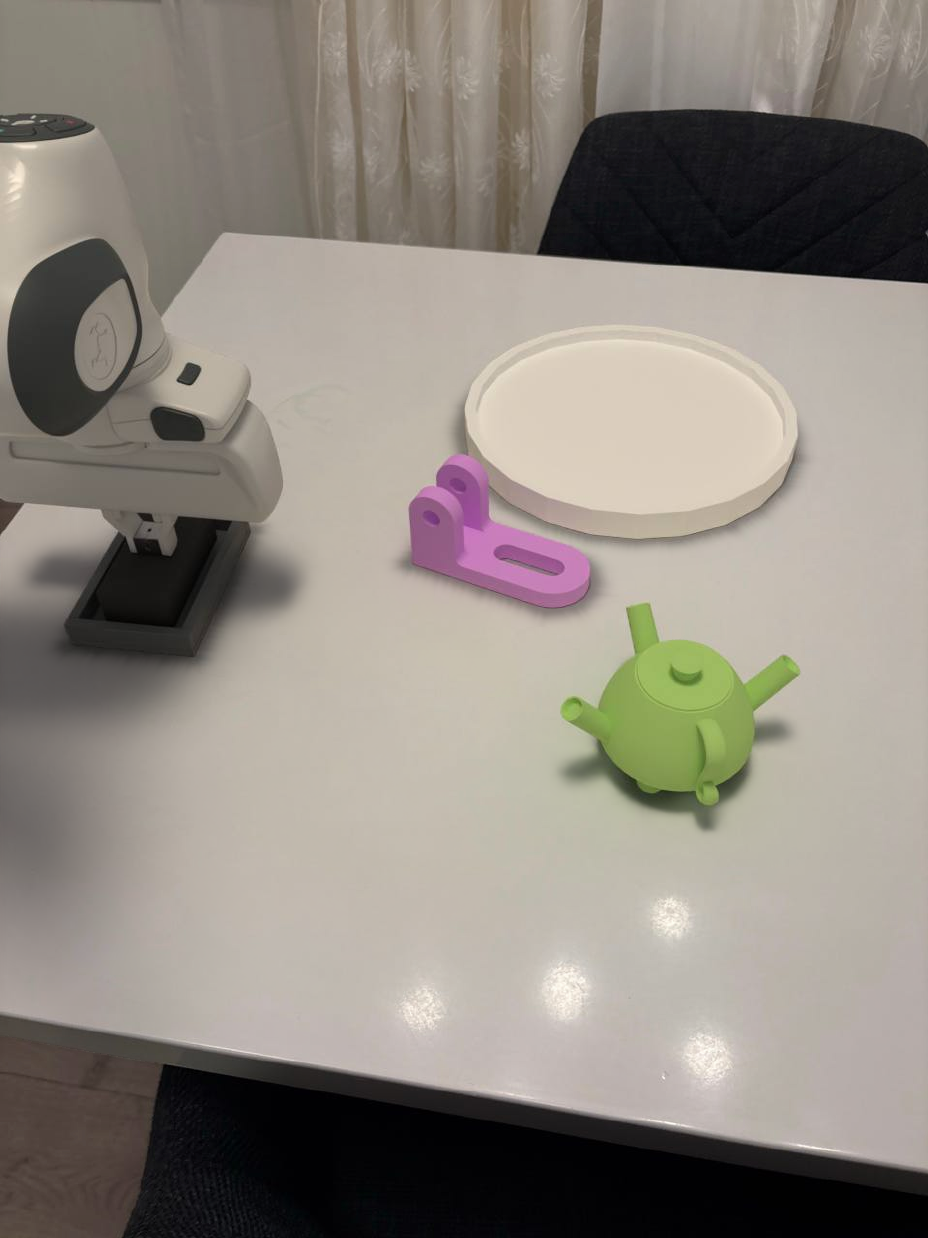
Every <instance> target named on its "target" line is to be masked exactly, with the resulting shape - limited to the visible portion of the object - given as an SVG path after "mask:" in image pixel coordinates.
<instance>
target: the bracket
mask: <svg viewBox="0 0 928 1238" xmlns="http://www.w3.org/2000/svg"><path fill="white" fill-rule="evenodd" d="M408 521H409V534H410V535H409V536H410V545H411V560H412V564H413V565H416V566H419V567H422V568H424V569H428V570H431V571H433V572H437V573H439V574H442V575H445V576H448V577H452V578H455V579H457V580H460V581H464V582H466V583H469V584H472V585H475V586H478V587H481V588H484V589H487V590H489V591H493V592H496V593H498V594H502V595H504V596H508V597H511V598H514V599H517V600H520V601H522V602H525V603H529V604H532V605H535V606H538V607H543V608H548V609H549V608H554V609H556V608H562V607H563V608H564V607H567V606H570V605H573V604H575V603H576V602H578V601H580V600H581V599H582V598H583V597H584V596H585V595H586V594H587V592H588V591H589V590H588V589H589V586H590V576H591V574H590V573H591V564H590V561H589V559H588V558H587V556H586V555H585V554H584V553H583V552H581V551H580V550H579V549H578V548H575V547H574V546H572V545H570V544H566V543H564V542H563V543H562V542H559V541H556V540H553V539H550V538H546V537H544V536H540V535H537V534H533V533H530V532H527V531H525V530H522V529H518V528H515V527H511V526H509V525H505V524H501V523H499V522H495V521H493V520H492V519H491V517H490V486H489V479H488V475H487V473H486V471H485V469H484V468H483V466H482V465H481V464H480V463H479V462H478V461H476V460H475V459H473V458H472V457H470V456H468V454H467V455H466V454H462V453H457V454H453V455H451V456H449V457H448V458H447V459H446V460H445V462H444V463H443V464H442V465H441V466H440V467H439V468H438V470H437V471H436V475H435V485H428V486H425V487H423V488H422V489H421V490H420V491H419V492H418V494H417V495H416V496H415V497H414V498H413V499H412V500H411V502H410V503H409V505H408ZM502 559H510V560H513V561H516V562H519V563H523V564H525V565H527V566H528V565H529V566H531V567H535V568H537V569H540V570H544V571H547V572H550V573H553V574H556V575H548V574H544V573H541V572H539V571H535V570H532V569H530V568H526V567H523V566H520V565H517V564H513V563H510V562H508V561H506V560H505V561H504V560H502Z"/></svg>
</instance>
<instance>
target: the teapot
mask: <svg viewBox="0 0 928 1238" xmlns="http://www.w3.org/2000/svg"><path fill="white" fill-rule="evenodd" d="M625 610H626V615H627V620H628V626H629V631H630V635H631V640H632V645H633V651H634V654H635V655H633V656H632V657H630V658H629V659H628V660H626V661H625V662H624V663H623V664H622V665H621V666H620V667H618V668H617V669H616V671H615V672H614V674H613V675H612V676H611V678H609V681H608V682H607V683H606V686H605V687H604V689H603V690H602V691H603V692H602V693H601V696H600V699H599V702H598V706H597V708H596V707H594V706H593V705H591V704H590V703H588V702H587V701H586V700H584V699H582V698H581V697H579V696H577V695H572V696H569V697H567V698H566V699H565V700H564V701H563V702H562V704H561V706H560V716H561V718H562V719H563V720H564V721H566V722H568V723H570V724H571V725H574V726H575V727H577V728H578V729H580V730H582V731H583V732H585V733H587V734H589V735H590V736H592V737H594V738H596V739H598V740H599V741H600V743H601V745H602V748H603V750H604V751H605V753H606V754H607V756H608V757H609V758H610V760H611V761H612V762H613V763H614V765H616V767H618V768H619V769H620V770H621V771H622V772H623V773H625V774H627V776H629V777H631V778H632V779H634V780H636V784H637V787H638V788H639V789H640V790H641V791H642V792H644V793H647V794H657V793H659V792H661V791H662V790H663V791H670V792H695V795H696V796H695V797H696V799H697V800H698V801H699V802H700V803H701V804H702V805H705V806H712V805H715V804H717V803H718V802H719V800H720V793H719V790H718V788H717V786H718V785H720V784H722V783H724V782H726V781H727V780H729V779H731V778H732V777H734V775H736V774H737V773H738V772H739V771H740V770H741V769H742V768H743V767H744V766H745V764H746V762H747V761H748V759H749V758H750V755H751V753H752V749H753V745H754V741H755V730H756V728H755V727H756V723H755V715H754V712H755V711H757V710H758V709H759V708H760V707H761V706H763V704H765V703H767V702H768V701H769V700H770V699H772V698H773V697H774V696H775V695H776V694H777V693H779V692H780V691H781V690H782V689H784V688H785V687H786V686H787V685H789V684H790V683H791V682H793V681H794V680H795V679H796V678H797V677H798V676H800V675H801V669H800V667H799V666H798V665H797V662H795V661H794V660H793V658H791V657H790V656H788V655H787V654H781V655H780V656H779V657H778V658H776V659H775V660H774V661H772V662H771V663H770V664H769V665H767V666H766V667H765V668H764V669H762V670H761V671H760V672H758V673H757V674H756V675H754V676H753V677H752V678H751V679H749V680H748V681H747V682H745V683H744V682H743V681H742V679H741V678H740V676H739V675H738V673H737V671H736V670H735V669H734V667H733V666H732V665H731V663H730V662H729V661H728V660H727V659H726V658H725V657H724V656H722V655H721V654H720V653H719V652H718V651H716V650H715V649H714V648H711V647H710V646H709V645H706V644H703V643H700V642H697V641H694V640H688V639H668V640H664V641H660V638H659V635H658V630H657V626H656V622H655V618H654V615H653V610H652V606H651V602H643V603H637V604H633V605H629V606H626V607H625Z"/></svg>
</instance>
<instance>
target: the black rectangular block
mask: <svg viewBox="0 0 928 1238" xmlns="http://www.w3.org/2000/svg"><path fill="white" fill-rule="evenodd" d="M140 518H141V519H142V520H143V521H146V522H155V521H154V520H153V517H152V514H149V513H141V515H140ZM156 523H160V522H156ZM161 523H162V522H161ZM174 529H175V533H176V537H177V546H176V548H175V550H174V552H173V553H172V555H171V556H165V555H155V554H143V553H132V552H131V551H130V548H129V545H128V542H127V540H126V541H125V543H124V545H123V547H122V548H121V550H120V552H119V554H118V555H117V557H116V559H115V561H114V562H113V564H112V566H111V568H110V569H109V571H108V573H107V575H106V576H105V578H104V580H103V582H102V583H101V585H100V587H99V589H98V590H97V592H96V595H97V597H98V600H99V603H100V605H101V608H102V611H103V613H104V616H105V619H106V621H111V622H121V623H132V624H142V625H152V626H163V627H173V628H174V627H175V625H176V623H177V621H178V619H179V617H180V615H181V613H182V611H183V608H184V606H185V604H186V602H187V600H188V598H189V596H190V594H191V592H192V590H193V588H194V586H195V584H196V581H197V579H198V577H199V575H200V573H201V571H202V569H203V567H204V565H205V563H206V561H207V559H208V557H209V554H210V552H211V550H212V548H213V546H214V544H215V542H216V540H217V534H216V530H215V526H214V522H213V519H208V518H196V517H184V516H178V517H177V520H176V522H175V524H174Z"/></svg>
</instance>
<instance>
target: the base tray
mask: <svg viewBox="0 0 928 1238" xmlns="http://www.w3.org/2000/svg"><path fill="white" fill-rule="evenodd" d="M136 513H137V512H136ZM137 514H138V515H139V516H140V515H141V513H137ZM213 522H214V526H215V530H216V534H217V540H216V542H215V544H214V546H213V548H212V550H211V552H210V554H209V557H208V559H207V561H206V563H205V565H204V567H203V569H202V571H201V573H200V575H199V577H198V579H197V581H196V584H195V586H194V588H193V590H192V592H191V594H190V596H189V598H188V600H187V602H186V604H185V606H184V608H183V611H182V613H181V615H180V617H179V619H178V621H177V623H176V625H175V627H174V628H173V627H163V626H152V625H142V624H132V623H121V622H111V621H106V619H105V616H104V613H103V611H102V608H101V605H100V603H99V600H98V597H97V595H96V592H97V590H98V589H99V587H100V585H101V583H102V582H103V580H104V578H105V576H106V575H107V573H108V571H109V569H110V568H111V566H112V564H113V562H114V561H115V559H116V557H117V555H118V554H119V552H120V550H121V548H122V547H123V545H124V543H125V541H126V540H127V539H126V536H123V535H122V534H121V533H120V532H119V531H118V530H117V533H116V535H115V536H114V538H113V540H112V541H111V542H110V545H109V547H108V548H107V550H106V552H105V553H104V555H103V556H102V559H100V562H99V564H98V565H97V567H96V569H95V570H94V572H93V573H92V576H91V577H90V578H89V581H88V582H87V584H86V585H85V587H84V589H83V591H82V592H81V594H80V596H79V598H78V600H77V601H76V603H75V605H74V606H73V608H72V609H71V611H70V613H69V615H68V617H67V618H66V619H65V621H64V623H63V627H64V630H65V631H66V634H67V636H68V639H69V643H70V644H71V645H73V646H74V645H75V646H85V647H93V648H104V649H115V650H124V651H125V650H126V651H136V652H145V653H154V654H164V655H165V654H166V655H175V656H185V657H192V658H193V657H195V656H196V653H197V651H198V649H199V647H200V644H201V643H202V641H203V638H204V636H205V634H206V632H207V629H208V627H209V625H210V623H211V620H212V618H213V616H214V614H215V612H216V609H217V607H218V605H219V602H220V600H221V598H222V596H223V593H224V592H225V589H226V587H227V585H228V582H229V580H230V578H231V575H232V574H233V571H234V569H235V567H236V565H237V562H238V560H239V558H240V556H241V554H242V551H243V550H244V547H245V545H246V543H247V540H248V538H249V535H250V533H251V531H252V530H251V526H250V522H244V521H232V520H220V519H213Z"/></svg>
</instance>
